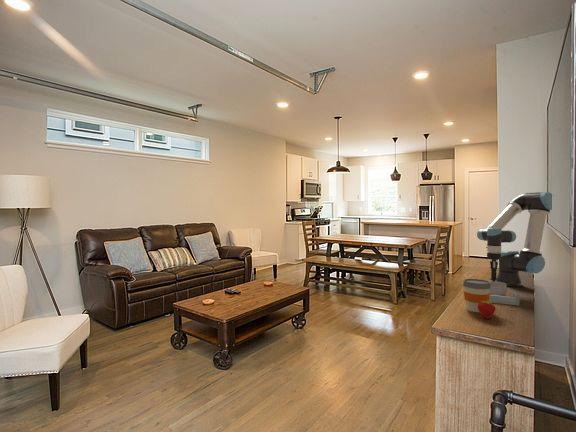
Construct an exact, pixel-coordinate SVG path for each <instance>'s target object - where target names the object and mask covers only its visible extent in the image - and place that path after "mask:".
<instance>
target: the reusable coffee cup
mask: <svg viewBox="0 0 576 432" xmlns="http://www.w3.org/2000/svg"><path fill="white" fill-rule="evenodd" d="M489 281H490V280H485V279H478V278H465V279H463V282H462V287H463V297H464V300H465V305H466V310H467V311H469V312H472V311H473V313H479V310H478V307H477V306H478V304H479V303H483V302H480V301H485V302H487V301H489V297H490V293H489V291H490V288H491V286H490V282H489ZM487 298H488V299H487Z"/></svg>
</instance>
